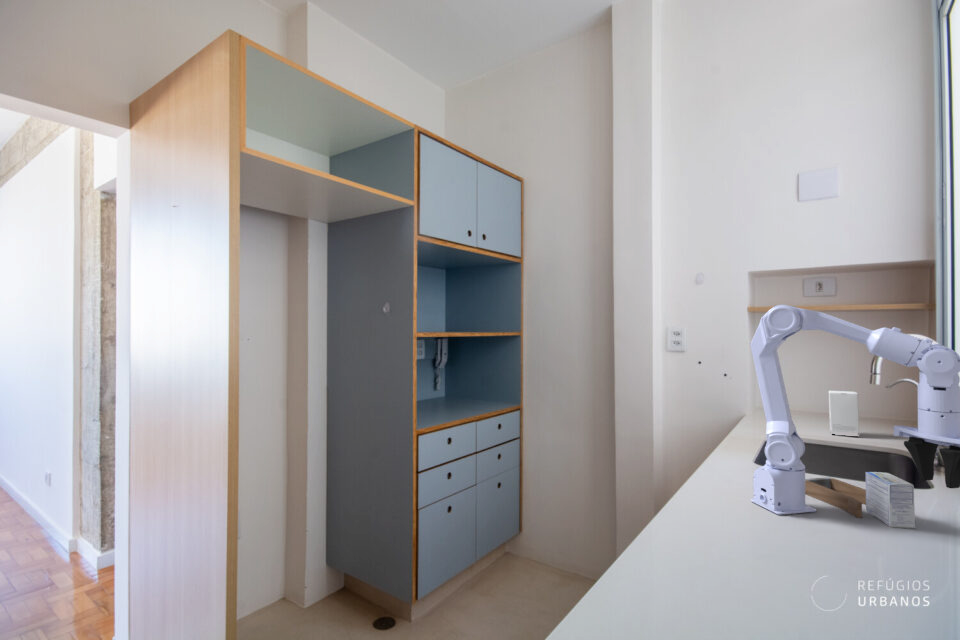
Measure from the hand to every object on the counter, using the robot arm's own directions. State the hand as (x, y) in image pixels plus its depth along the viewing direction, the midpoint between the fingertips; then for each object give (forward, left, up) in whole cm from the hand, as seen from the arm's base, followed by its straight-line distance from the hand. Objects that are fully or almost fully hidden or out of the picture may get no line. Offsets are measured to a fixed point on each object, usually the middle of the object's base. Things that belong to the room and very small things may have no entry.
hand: (939, 483), depth 87 cm
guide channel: (0, +18, -10) cm, 21 cm away
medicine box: (0, +9, -11) cm, 14 cm away
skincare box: (+60, +72, -11) cm, 94 cm away
